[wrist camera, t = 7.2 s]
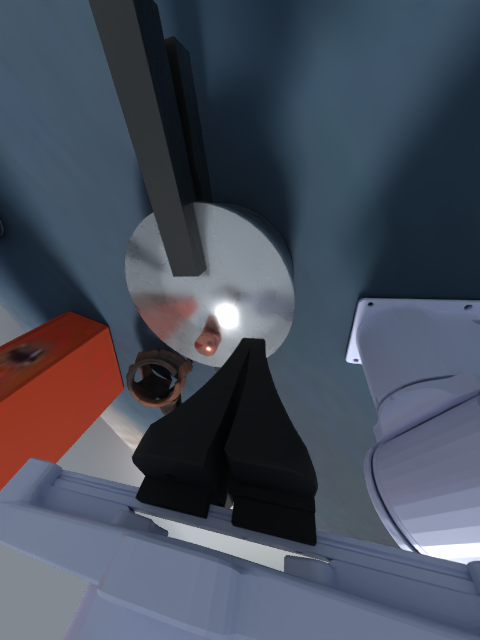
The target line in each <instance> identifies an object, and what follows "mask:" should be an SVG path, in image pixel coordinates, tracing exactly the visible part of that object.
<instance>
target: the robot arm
mask: <svg viewBox="0 0 480 640" xmlns="http://www.w3.org/2000/svg"><path fill="white" fill-rule="evenodd" d="M370 302H373V304H371V305H368V303H370ZM466 305H469V306H468V307H466V308H464V307H465V306H466ZM354 359H356V360H354ZM346 361H347V362H349V363H357V364H362V366H363V369H364V372H365V376H366V379H367V382H368V386H369V389H370V392H371V396H372V399H373V402H374V406H375V409H376V413H377V416H378V422H377V424H376V425H375V426H374V427H373V430H374V434H375V438H376V442H377V444H375V445H373V446H372V447H371V448H369V450H368V451H367V453H366V455H365V458H364V477H365V482H366V486H367V489H368V492H369V495H370V498H371V500H372V502H373V505H374V507H375V509H376V511H377V513H378V515H379V517H380V519H381V520H382V522H383V524H384V525H385V527H386V528H387V530H388V531H389V533H390V534H391V536H392V537H393V538H394V540H395V541H396V542H397V544H398V545H399V546H400V547H401V548H402V549H398V548H394V547H390V546H386V545H381V544H377V543H373V542H369V541H364V540H360V539H356V538H352V537H347V536H343V535H339V534H335V533H330V532H326V531H322V530H318V529H316V525H315V499H314V497H315V494H316V492H317V489H318V482H317V477H316V473H315V470H314V467H313V464H312V461H311V458H310V456H309V453H308V450H307V448H306V446H305V444H304V443H303V441H302V439H301V438H300V436H299V434H298V433H297V431H296V429H295V427H294V426H293V424H292V422H291V420H290V418H289V416H288V414H287V412H286V410H285V408H284V406H283V404H282V402H281V400H280V398H279V395H278V393H277V390H276V388H275V385H274V382H273V380H272V377H271V373H270V370H269V366H268V362H267V358H266V340H264V339H259V338H242V339H241V341H240V343H239V344H238V346H237V347H236V349H235V350H234V352H233V353H232V354H231V356H230V357H229V358H228V359H227V361H226V362H225V363H224V364H223V366H222V367H221V368H220V369H219V370H218V371H217V373H216V374H215V375H214V376H213V377H212V378H211V379H210V380H209V381H208V382H207V383H206V384H205V385H204V386H203V387H202V388H200V389H199V390H198V391H197V392H196V393H195V394H194V395H192V396H191V397H190V398H189V399H187V400H186V401H185V402H183V403H182V404H181V405H179V406H178V407H177V408H176V409H174V410H173V411H171V412H170V413H168V414H167V415H165V416H164V417H162V418H161V419H159V420H158V421H156V422H154V423H153V424H151V425H150V427H149V428H148V430H147V431H146V433H145V434H144V436H143V438H142V439H141V441H140V443H139V445H138V447H137V448H136V450H135V452H134V454H133V456H132V460H133V463H134V464H135V465H136V466H137V467H138V469H139V470H140V471H141V472H142V473H143V474H144V475H145V478H144V480H143V482H142V484H141V486H140V488H139V487H135V486H130V485H126V484H122V483H117V482H113V481H109V480H104V479H100V478H96V477H92V476H87V475H83V474H79V473H75V472H71V471H66V470H62V468H61V467H60V466H58V465H57V464H55V463H53V462H50V461H46V460H41V459H37V458H30V459H29V460H28V461H27V462H26V463H25V464H24V466H23V467H22V468H21V469H20V470H19V471H18V472H17V473H16V474H15V475H14V477H13V478H12V479H11V480H10V481H9V482H8V483H7V484H6V485H5V486H4V487H3V489H2V490H1V491H0V544H2V545H5V546H7V547H9V548H12V549H14V550H16V551H19V552H21V553H23V554H26V555H28V556H30V557H32V558H35V559H37V560H39V561H42V562H44V563H46V564H49V565H51V566H53V567H55V568H58V569H60V570H62V571H65V572H67V573H69V574H71V575H74V576H76V577H78V578H81V579H83V580H85V581H88V582H89V585H88V587H87V589H86V591H85V593H84V595H83V597H82V599H81V601H80V603H79V605H78V607H77V609H76V612H75V613H74V615H73V618H72V620H71V622H70V624H69V626H68V628H67V630H66V632H65V634H64V636H63V638H62V640H480V300H435V299H387V298H362V299H360V300H359V301H358V304H357V309H356V313H355V317H354V322H353V326H352V331H351V335H350V339H349V344H348V348H347V353H346ZM233 502H234V506H233ZM232 506H233V510H232V509H230V508H231V507H232ZM134 511H137V512H141V513H144V514H148V515H152V516H156V517H160V518H163V519H167V520H171V521H175V522H179V523H182V524H186V525H190V526H194V527H197V528H201V529H205V530H209V531H213V532H216V533H220V534H224V535H228V536H232V537H236V538H239V539H243V540H247V541H251V542H255V543H258V544H262V545H266V546H270V547H273V548H277V549H281V550H285V551H289V552H292V553H296V554H300V555H304V556H308V557H311V558H315V559H310V558H304V557H297V556H290V555H286V556H285V558H284V572H282V571H278V570H276V569H272V568H270V567H267V566H263V565H260V564H257V563H254V562H251V561H248V560H245V559H242V558H239V557H236V556H233V555H229V554H226V553H223V552H220V551H217V550H213V549H210V548H207V547H203V546H200V545H197V544H193V543H190V542H186V541H182V540H179V539H175V538H171V537H167V536H168V531H167V530H165V529H163V528H161V527H159V526H158V525H156V524H155V523H154V522H153V521H152V520H151V519H149V518H146V517H144V516H141V515H138V514H135V512H134ZM316 559H319V560H316ZM320 560H323V561H326V562H329V563H326V562H323V561H320Z"/></svg>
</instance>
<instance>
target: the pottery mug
mask: <svg viewBox="0 0 480 640" xmlns="http://www.w3.org/2000/svg"><path fill="white" fill-rule="evenodd" d="M150 364H158V365H161V366H163V367H165V368H166V369H168V370H169V371H170V372H171V374H172V375H173V376H174V375H175V374H176V373H177V374H178V380H177V381H176V382H175V386H173V387H172V388H171V389H169V387H170V384H171V382H172V380H169V379H163V378H161V377H159V376H157V375H155V374H154V373H153V371H152V369H151V367H150ZM139 367H140V371H141V375H142V378H143V380H141V381H140V382H138V383H136V382H135V381H134V376H135V372H136V371H137V369H138V368H139ZM192 368H193V366H192V363H191V360H190V359H187V360H185V358H183V357H181V356H179V355H177V354H175V353H172V352H170V351H166V350H163V349H161V350H160V351H159V352H158V351H157V350H151V351H147V352H139V353H138V355H137V358H136V362H135V364H134V365H133V364H132V365H131V366H129V372H128V374H127V376H126V379H127V387H128V389H129V390H130V393H131V395H132V396H133V397H134V398H135V399H136V400H137V401H139V402H140V403H141V404H143V405H146V406H149V407H160V408H161V410H162V413H163V414H164V415H167V414H168V413H170V412H171V411H173V410H174V409H176V408H177V407H178V406H179V405H181V404H182V402H181V391H182V389H183V387H184V385H185V381H186V375H187V374H188V373H189V372H190V371H192ZM157 398H159V400H156V399H157Z"/></svg>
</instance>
